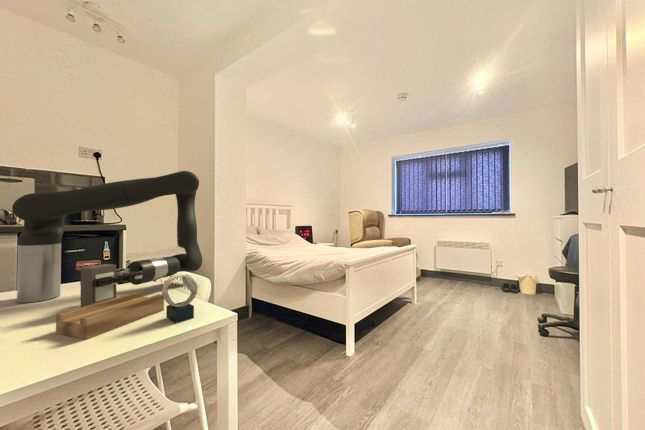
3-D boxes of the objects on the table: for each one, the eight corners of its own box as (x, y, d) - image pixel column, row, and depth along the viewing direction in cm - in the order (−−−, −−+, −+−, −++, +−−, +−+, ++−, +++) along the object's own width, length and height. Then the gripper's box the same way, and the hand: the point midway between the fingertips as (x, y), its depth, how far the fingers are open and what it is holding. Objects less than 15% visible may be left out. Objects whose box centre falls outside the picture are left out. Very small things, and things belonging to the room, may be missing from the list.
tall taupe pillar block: (80, 312, 68) (80, 267, 68) (105, 305, 74) (105, 264, 74) (92, 314, 67) (92, 268, 67) (116, 306, 73) (116, 264, 73)
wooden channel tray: (55, 333, 56) (56, 314, 56) (137, 306, 73) (137, 291, 73) (86, 339, 53) (86, 319, 53) (164, 309, 70) (164, 294, 70)
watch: (201, 315, 66) (201, 273, 66) (167, 326, 59) (167, 279, 60) (191, 310, 69) (191, 270, 69) (158, 320, 63) (158, 275, 63)
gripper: (132, 258, 86) (70, 267, 70) (164, 260, 82) (106, 270, 66) (132, 280, 86) (69, 294, 70) (164, 283, 82) (105, 299, 66)
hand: (88, 282), depth 68 cm, fingers closed on tall taupe pillar block, 4 cm apart
